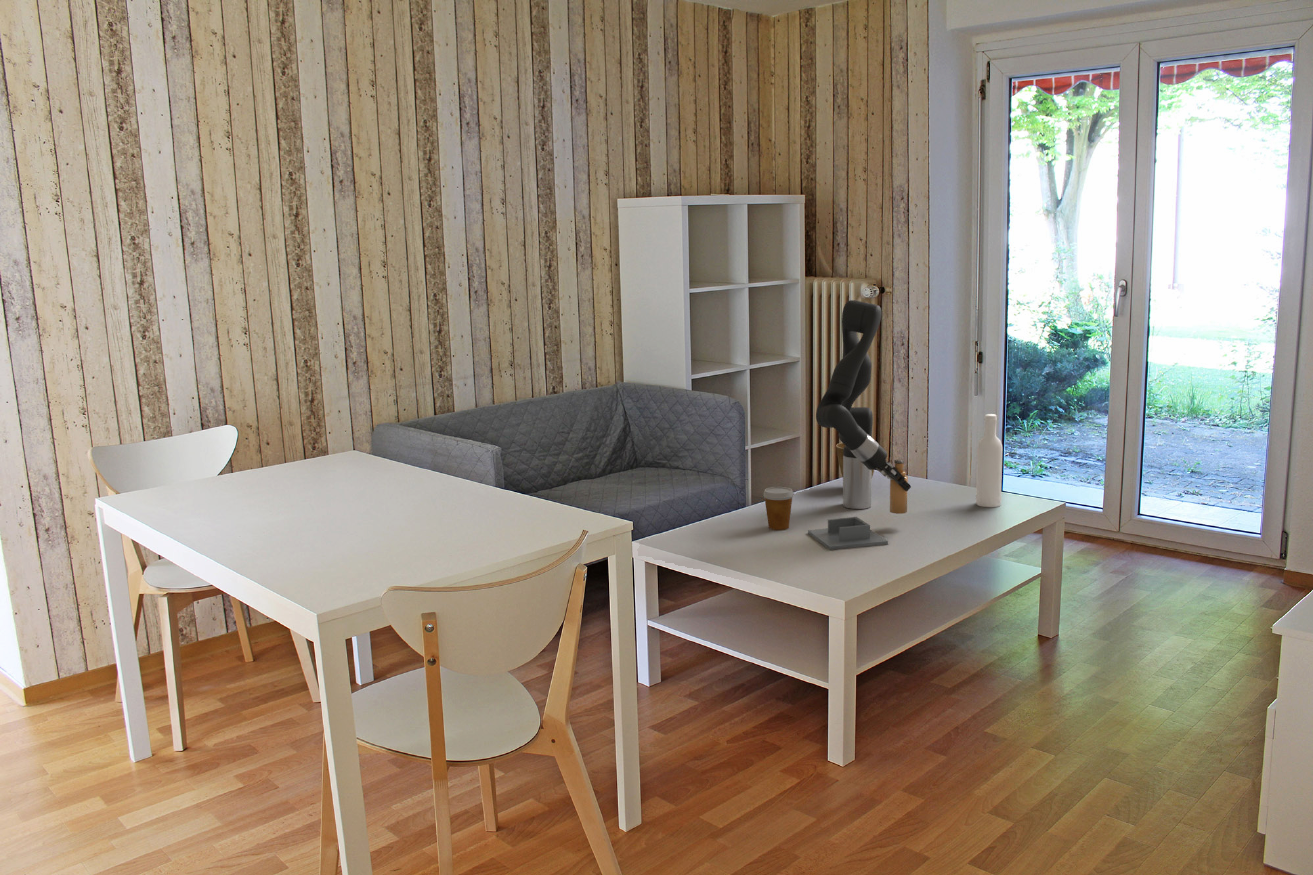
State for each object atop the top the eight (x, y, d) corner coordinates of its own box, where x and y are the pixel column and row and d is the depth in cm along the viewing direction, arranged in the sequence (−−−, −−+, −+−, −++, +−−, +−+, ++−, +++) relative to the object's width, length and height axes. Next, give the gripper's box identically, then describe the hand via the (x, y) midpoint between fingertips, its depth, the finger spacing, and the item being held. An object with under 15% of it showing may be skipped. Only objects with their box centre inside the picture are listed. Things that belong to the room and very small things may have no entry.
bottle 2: (1002, 507, 332) (1005, 417, 327) (977, 507, 334) (979, 417, 328) (999, 501, 340) (1002, 412, 334) (974, 501, 341) (976, 412, 336)
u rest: (829, 550, 294) (829, 533, 293) (807, 533, 311) (807, 517, 310) (888, 544, 297) (888, 527, 296) (863, 528, 314) (863, 512, 314)
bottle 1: (886, 510, 315) (887, 459, 312) (901, 508, 316) (902, 458, 313) (894, 514, 310) (895, 463, 307) (910, 512, 312) (911, 461, 308)
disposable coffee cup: (800, 526, 319) (799, 489, 316) (782, 533, 312) (781, 495, 309) (775, 521, 325) (775, 485, 323) (757, 528, 318) (756, 490, 316)
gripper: (886, 446, 301) (923, 483, 305) (867, 437, 314) (902, 472, 319) (869, 465, 301) (906, 501, 305) (850, 455, 314) (886, 490, 319)
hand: (904, 486), depth 312 cm, fingers closed on bottle 1, 5 cm apart
